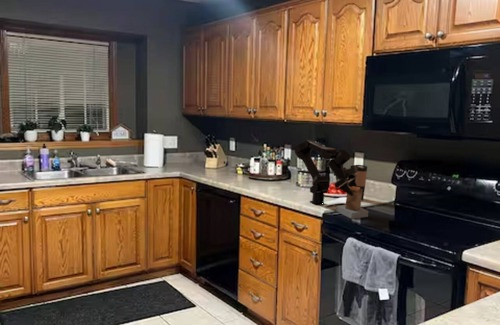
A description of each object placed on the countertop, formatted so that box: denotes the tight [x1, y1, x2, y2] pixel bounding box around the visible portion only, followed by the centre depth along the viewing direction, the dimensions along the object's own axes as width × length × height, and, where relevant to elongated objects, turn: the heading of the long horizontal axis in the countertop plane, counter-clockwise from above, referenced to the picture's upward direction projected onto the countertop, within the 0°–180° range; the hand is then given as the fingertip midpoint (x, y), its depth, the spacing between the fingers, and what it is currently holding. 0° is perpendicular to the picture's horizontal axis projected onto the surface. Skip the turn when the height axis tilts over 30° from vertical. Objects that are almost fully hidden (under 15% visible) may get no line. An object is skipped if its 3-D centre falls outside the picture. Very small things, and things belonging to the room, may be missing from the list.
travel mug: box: [355, 164, 368, 201], centre depth 262 cm, size 8×8×20 cm
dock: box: [336, 204, 369, 219], centre depth 233 cm, size 12×11×3 cm
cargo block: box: [349, 186, 360, 191], centre depth 231 cm, size 4×4×3 cm
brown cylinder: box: [345, 189, 362, 211], centre depth 231 cm, size 6×6×10 cm
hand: (355, 193), depth 231 cm, fingers open, 9 cm apart
